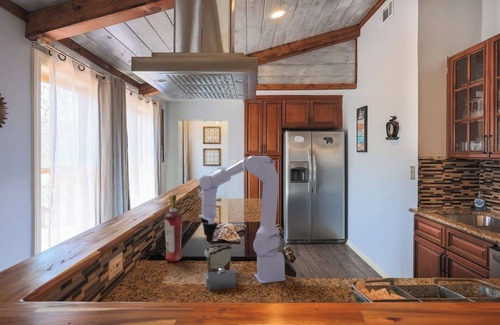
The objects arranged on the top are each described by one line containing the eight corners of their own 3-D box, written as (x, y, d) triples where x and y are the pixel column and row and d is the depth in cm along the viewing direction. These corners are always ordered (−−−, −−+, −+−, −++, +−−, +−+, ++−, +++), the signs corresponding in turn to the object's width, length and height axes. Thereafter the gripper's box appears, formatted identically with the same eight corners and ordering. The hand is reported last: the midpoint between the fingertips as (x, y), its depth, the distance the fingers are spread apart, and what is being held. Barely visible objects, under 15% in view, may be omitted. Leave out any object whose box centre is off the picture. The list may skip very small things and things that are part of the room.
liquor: (161, 260, 124) (160, 195, 124) (175, 256, 130) (174, 193, 129) (171, 264, 119) (170, 196, 119) (186, 259, 125) (185, 194, 125)
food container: (221, 266, 117) (220, 241, 117) (232, 269, 113) (232, 243, 113) (197, 275, 107) (197, 248, 107) (209, 279, 103) (208, 251, 103)
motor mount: (232, 278, 105) (232, 261, 105) (237, 286, 97) (236, 268, 97) (204, 281, 102) (204, 264, 102) (207, 290, 95) (206, 271, 95)
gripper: (197, 201, 125) (196, 233, 125) (201, 208, 111) (200, 243, 111) (213, 201, 127) (213, 232, 127) (219, 207, 113) (218, 242, 113)
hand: (208, 237), depth 119 cm, fingers open, 7 cm apart
